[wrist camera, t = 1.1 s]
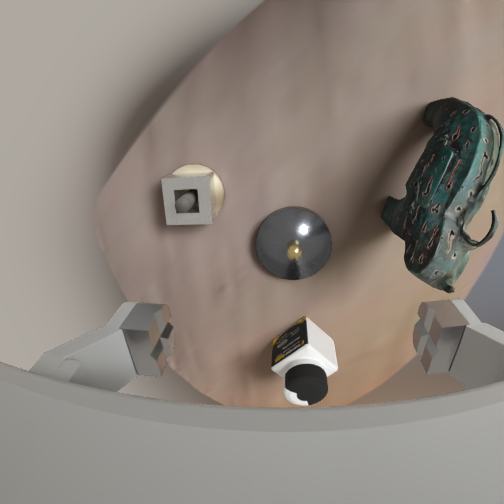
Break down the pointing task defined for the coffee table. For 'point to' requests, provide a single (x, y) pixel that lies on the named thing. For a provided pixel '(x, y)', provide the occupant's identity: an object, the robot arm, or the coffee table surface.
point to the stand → (191, 195)
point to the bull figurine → (447, 192)
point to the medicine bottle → (304, 362)
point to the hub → (293, 243)
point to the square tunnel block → (206, 198)
